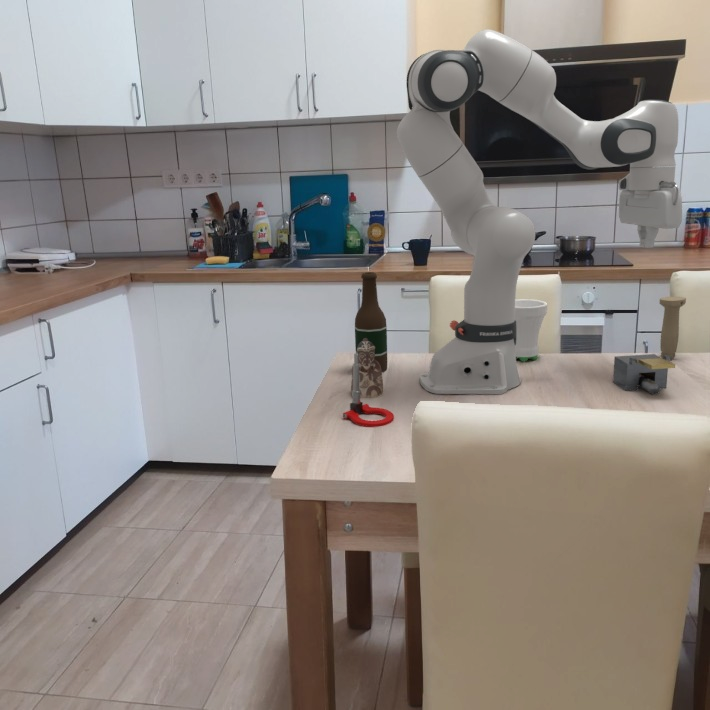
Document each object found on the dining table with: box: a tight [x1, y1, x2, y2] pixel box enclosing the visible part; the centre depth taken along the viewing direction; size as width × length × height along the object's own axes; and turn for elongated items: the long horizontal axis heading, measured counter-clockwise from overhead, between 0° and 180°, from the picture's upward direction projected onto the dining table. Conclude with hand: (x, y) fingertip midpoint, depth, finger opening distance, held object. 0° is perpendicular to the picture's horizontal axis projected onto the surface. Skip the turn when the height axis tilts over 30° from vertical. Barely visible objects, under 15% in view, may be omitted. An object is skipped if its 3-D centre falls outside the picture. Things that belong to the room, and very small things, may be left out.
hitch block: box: [612, 353, 671, 392], centre depth 145 cm, size 9×7×7 cm
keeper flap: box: [636, 358, 676, 369], centre depth 139 cm, size 6×6×1 cm
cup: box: [515, 298, 548, 362], centre depth 169 cm, size 11×11×14 cm
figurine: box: [350, 338, 384, 400], centre depth 146 cm, size 7×7×12 cm
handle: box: [659, 295, 687, 360], centre depth 164 cm, size 5×6×15 cm
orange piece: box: [638, 373, 662, 395], centre depth 145 cm, size 5×12×3 cm, turn 5°
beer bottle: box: [354, 271, 388, 373], centre depth 162 cm, size 8×8×24 cm
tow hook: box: [342, 352, 395, 428], centre depth 131 cm, size 8×13×9 cm
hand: (646, 247), depth 146 cm, fingers closed
